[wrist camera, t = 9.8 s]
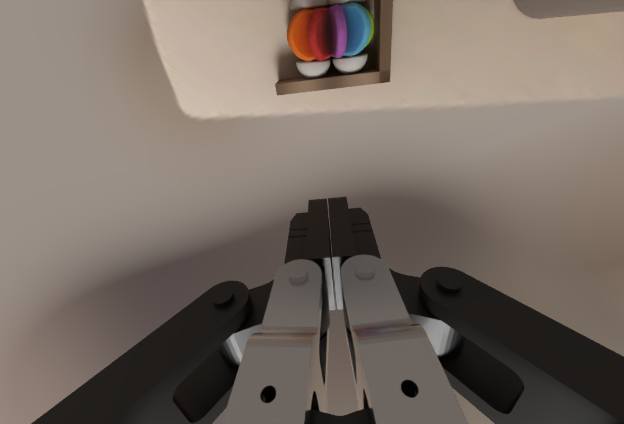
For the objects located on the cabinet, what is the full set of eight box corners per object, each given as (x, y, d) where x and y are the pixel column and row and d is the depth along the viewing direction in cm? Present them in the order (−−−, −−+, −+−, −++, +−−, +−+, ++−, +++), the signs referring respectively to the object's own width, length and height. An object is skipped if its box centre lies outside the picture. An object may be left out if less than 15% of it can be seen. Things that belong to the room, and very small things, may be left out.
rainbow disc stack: (282, -7, 30) (274, -19, 24) (371, -19, 30) (385, -34, 24) (293, 77, 35) (288, 86, 29) (370, 69, 34) (382, 75, 28)
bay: (387, -72, 27) (395, -85, 24) (383, 78, 35) (389, 81, 32) (257, -51, 28) (250, -62, 25) (280, 90, 36) (277, 95, 33)
